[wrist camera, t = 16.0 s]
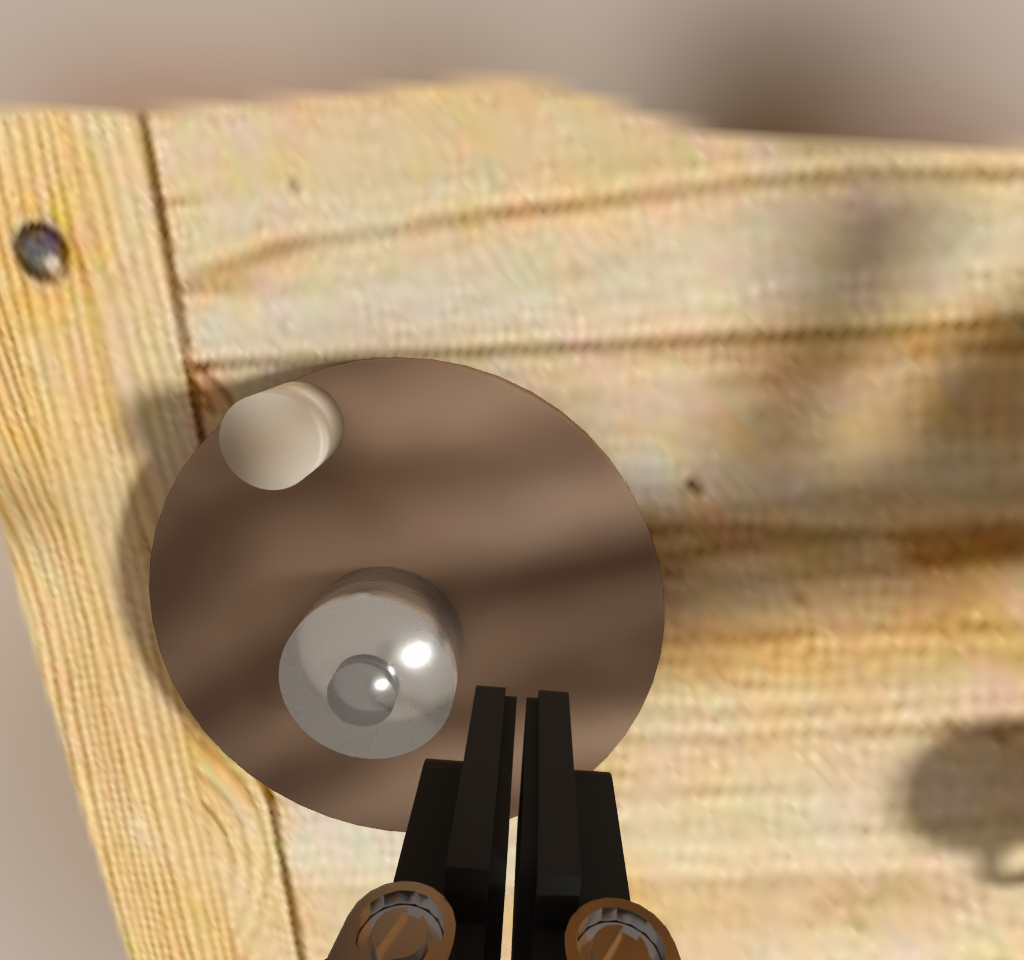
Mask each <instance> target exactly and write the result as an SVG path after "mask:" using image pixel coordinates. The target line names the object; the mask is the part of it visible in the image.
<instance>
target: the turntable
mask: <svg viewBox="0 0 1024 960" xmlns="http://www.w3.org/2000/svg"><path fill="white" fill-rule="evenodd" d="M380 566H383V567H394V568H399V569H403V570H406V571H410V572H413V573H415V574H417V575H419V576H421V577H423V578H425V579H426V580H428V581H430V582H431V583H433V584H434V585H435V586H436V587H438V588H439V589H440V590H441V591H442V592H443V593H444V594H445V595H446V596H447V598H448V599H449V600H450V601H451V603H452V604H453V606H454V608H455V609H456V611H457V613H458V615H459V618H460V620H461V623H462V627H463V632H464V652H463V657H462V662H461V667H460V671H459V676H458V681H457V686H456V691H455V695H454V700H453V705H452V708H451V711H450V714H449V716H448V718H447V720H446V721H445V723H444V725H443V726H442V727H441V729H440V730H439V731H438V732H437V733H436V734H435V735H434V736H433V737H432V738H431V739H430V740H429V741H428V742H426V743H425V744H424V745H422V746H420V747H419V748H417V749H415V750H413V751H411V752H408V753H406V754H403V755H399V756H395V757H390V758H383V759H366V758H358V757H353V756H348V755H345V754H342V753H339V752H336V751H334V750H332V749H329V748H327V747H326V746H324V745H322V744H320V743H319V742H317V741H316V740H315V739H313V738H312V737H310V736H309V735H308V734H307V733H306V732H305V731H304V730H303V729H302V728H301V727H300V726H299V725H298V724H297V722H296V721H295V720H294V719H293V717H292V715H291V714H290V712H289V711H288V709H287V707H286V705H285V703H284V700H283V697H282V694H281V690H280V685H279V664H280V659H281V655H282V652H283V650H284V647H285V645H286V643H287V641H288V640H289V638H290V636H291V635H292V633H293V632H294V631H295V629H296V628H297V626H298V625H299V624H300V622H301V621H302V620H303V618H304V617H305V615H306V614H307V613H308V611H309V610H310V608H311V607H312V606H313V604H314V603H315V601H316V600H317V599H318V597H319V596H320V595H321V593H322V592H323V591H324V590H325V589H326V588H327V587H328V586H329V585H330V584H331V583H332V582H334V581H335V580H337V579H338V578H340V577H341V576H343V575H345V574H347V573H350V572H352V571H355V570H358V569H362V568H368V567H380ZM149 592H150V601H151V611H152V620H153V624H154V628H155V632H156V636H157V640H158V644H159V648H160V652H161V654H162V657H163V659H164V662H165V664H166V667H167V669H168V672H169V674H170V677H171V679H172V681H173V683H174V685H175V687H176V688H177V690H178V692H179V694H180V696H181V697H182V699H183V701H184V703H185V705H186V706H187V708H188V709H189V710H190V712H191V713H192V715H193V716H194V717H195V719H196V720H197V721H198V723H199V724H200V726H201V727H202V728H203V730H204V731H205V732H206V733H207V734H208V735H209V736H210V738H211V739H212V740H213V741H214V742H215V743H216V744H217V745H218V746H219V747H220V748H221V750H222V751H223V752H224V753H225V754H226V755H228V756H229V757H230V758H231V759H232V760H233V761H235V762H236V763H237V764H238V765H239V766H240V767H241V768H243V769H244V770H245V771H246V772H247V773H248V774H250V775H251V776H253V777H254V778H256V779H257V780H259V781H260V782H262V783H263V784H264V785H266V786H267V787H269V788H270V789H272V790H273V791H275V792H277V793H279V794H281V795H282V796H284V797H286V798H288V799H290V800H292V801H293V802H295V803H297V804H299V805H301V806H304V807H306V808H308V809H311V810H313V811H316V812H318V813H321V814H323V815H326V816H328V817H331V818H335V819H338V820H341V821H345V822H348V823H352V824H355V825H359V826H365V827H370V828H376V829H381V830H387V831H399V832H406V831H407V827H408V823H409V819H410V815H411V811H412V807H413V803H414V799H415V795H416V791H417V787H418V783H419V779H420V776H421V772H422V768H423V764H424V761H425V759H426V758H429V759H442V760H455V761H463V760H464V754H465V748H466V743H467V737H468V731H469V725H470V719H471V713H472V707H473V701H474V695H475V689H476V686H477V685H480V686H493V687H506V695H505V696H516V697H517V704H516V721H515V737H514V753H513V770H512V786H511V803H510V818H513V817H515V816H518V810H519V796H520V782H521V768H522V754H523V739H524V725H525V711H526V698H527V697H530V698H538V691H539V690H548V691H561V692H568V693H569V703H570V717H571V731H572V746H573V760H574V770H585V771H593V770H594V769H595V768H596V767H597V766H598V765H599V764H600V763H601V762H602V761H604V760H605V759H606V758H607V756H608V755H609V754H610V753H611V752H612V750H613V749H614V748H615V747H616V746H617V744H618V743H619V742H620V741H621V740H622V738H623V737H624V736H625V735H626V733H627V731H628V730H629V728H630V726H631V725H632V723H633V722H634V720H635V718H636V717H637V715H638V714H639V712H640V710H641V708H642V706H643V704H644V701H645V699H646V697H647V694H648V692H649V690H650V688H651V685H652V683H653V680H654V676H655V672H656V669H657V665H658V661H659V658H660V654H661V647H662V639H663V631H664V590H663V584H662V578H661V572H660V566H659V560H658V557H657V554H656V551H655V548H654V545H653V542H652V539H651V535H650V532H649V529H648V527H647V525H646V523H645V520H644V518H643V516H642V514H641V512H640V510H639V508H638V506H637V504H636V502H635V500H634V497H633V495H632V493H631V491H630V489H629V487H628V485H627V484H626V482H625V481H624V479H623V478H622V476H621V475H620V474H619V472H618V471H617V469H616V468H615V466H614V465H613V463H612V462H611V460H610V459H609V458H608V456H607V455H606V454H605V453H604V452H603V451H602V450H601V449H600V447H599V446H598V445H597V444H596V443H595V442H594V441H593V440H592V438H591V437H590V436H589V435H588V434H587V433H586V432H585V431H584V430H582V429H581V428H580V427H579V426H578V425H577V424H575V423H574V422H573V421H572V420H571V419H570V418H569V417H567V416H566V415H565V414H564V413H563V412H562V411H560V410H559V409H557V408H555V407H554V406H552V405H551V404H549V403H548V402H546V401H545V400H543V399H542V398H540V397H539V396H537V395H536V394H534V393H533V392H531V391H529V390H526V389H524V388H522V387H520V386H518V385H516V384H514V383H512V382H510V381H508V380H506V379H504V378H501V377H499V376H496V375H493V374H490V373H487V372H484V371H481V370H478V369H475V368H472V367H469V366H465V365H459V364H454V363H449V362H444V361H438V360H433V359H418V358H399V357H394V358H382V359H369V360H360V361H355V362H351V363H346V364H341V365H337V366H332V367H328V368H325V369H322V370H319V371H317V372H314V373H311V374H308V375H306V376H303V377H300V378H298V379H295V380H292V381H290V382H287V383H284V384H281V385H278V386H276V387H273V388H270V389H267V390H265V391H262V392H259V393H256V394H253V395H251V396H248V397H245V398H243V399H241V400H239V401H238V402H236V403H235V404H234V405H233V406H232V407H231V408H230V409H229V410H228V411H227V413H226V414H225V416H224V418H223V420H222V423H221V424H220V425H219V426H218V427H217V428H216V429H215V430H214V431H213V432H212V433H211V434H210V435H209V436H208V437H207V438H206V439H205V440H204V441H203V442H202V443H201V444H200V446H199V447H198V448H197V450H196V451H195V452H194V454H193V455H192V457H191V458H190V459H189V461H188V462H187V463H186V465H185V466H184V468H183V469H182V470H181V472H180V474H179V476H178V477H177V479H176V481H175V483H174V485H173V487H172V489H171V491H170V493H169V495H168V497H167V499H166V501H165V504H164V507H163V510H162V513H161V516H160V519H159V522H158V525H157V527H156V531H155V537H154V542H153V548H152V553H151V559H150V585H149Z"/></svg>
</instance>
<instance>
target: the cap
mask: <svg viewBox="0 0 1024 960" xmlns="http://www.w3.org/2000/svg"><path fill="white" fill-rule="evenodd" d="M463 652H464V632H463V627H462V623H461V620H460V618H459V615H458V613H457V611H456V609H455V608H454V606H453V604H452V603H451V601H450V600H449V599H448V598H447V596H446V595H445V594H444V593H443V592H442V591H441V590H440V589H439V588H438V587H436V586H435V585H434V584H433V583H431V582H430V581H428V580H426V579H425V578H423V577H421V576H419V575H417V574H415V573H413V572H410V571H406V570H403V569H399V568H394V567H383V566H380V567H368V568H362V569H358V570H355V571H352V572H350V573H347V574H345V575H343V576H341V577H340V578H338V579H337V580H335V581H334V582H332V583H331V584H330V585H329V586H328V587H327V588H326V589H325V590H324V591H323V592H322V593H321V595H320V596H319V597H318V599H317V600H316V601H315V603H314V604H313V606H312V607H311V608H310V610H309V611H308V613H307V614H306V615H305V617H304V618H303V620H302V621H301V622H300V624H299V625H298V626H297V628H296V629H295V631H294V632H293V633H292V635H291V636H290V638H289V640H288V641H287V643H286V645H285V647H284V650H283V652H282V655H281V659H280V664H279V685H280V690H281V694H282V697H283V700H284V703H285V705H286V707H287V709H288V711H289V712H290V714H291V715H292V717H293V719H294V720H295V721H296V722H297V724H298V725H299V726H300V727H301V728H302V729H303V730H304V731H305V732H306V733H307V734H308V735H309V736H310V737H312V738H313V739H315V740H316V741H317V742H319V743H320V744H322V745H324V746H326V747H327V748H329V749H332V750H334V751H336V752H339V753H342V754H345V755H348V756H353V757H358V758H366V759H383V758H390V757H395V756H399V755H403V754H406V753H408V752H411V751H413V750H415V749H417V748H419V747H420V746H422V745H424V744H425V743H426V742H428V741H429V740H430V739H431V738H432V737H433V736H434V735H435V734H436V733H437V732H438V731H439V730H440V729H441V727H442V726H443V725H444V723H445V721H446V720H447V718H448V716H449V714H450V711H451V708H452V705H453V700H454V695H455V691H456V686H457V681H458V676H459V671H460V667H461V662H462V657H463Z"/></svg>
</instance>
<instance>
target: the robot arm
mask: <svg viewBox="0 0 1024 960" xmlns="http://www.w3.org/2000/svg"><path fill="white" fill-rule="evenodd" d="M505 695H506V687H493V686H480V685H477V686H476V689H475V695H474V701H473V707H472V713H471V719H470V725H469V731H468V737H467V743H466V748H465V754H464V760H463V761H455V760H442V759H429V758H426V759H425V761H424V764H423V768H422V772H421V776H420V779H419V783H418V787H417V791H416V795H415V799H414V803H413V807H412V811H411V815H410V819H409V823H408V827H407V831H406V835H405V839H404V842H403V846H402V850H401V854H400V858H399V862H398V866H397V870H396V874H395V878H394V882H393V883H388V884H385V885H382V886H380V887H378V888H376V889H374V890H372V891H370V892H369V893H368V894H366V895H365V896H364V897H363V898H362V899H360V900H359V901H358V902H357V903H356V905H355V906H354V908H353V909H352V910H351V912H350V913H349V915H348V916H347V918H346V920H345V923H344V925H343V927H342V929H341V931H340V933H339V935H338V937H337V939H336V941H335V943H334V945H333V947H332V949H331V951H330V953H329V955H328V957H327V959H325V960H500V958H501V943H502V928H503V913H504V898H505V883H506V867H507V852H508V835H509V819H510V803H511V786H512V770H513V753H514V737H515V721H516V704H517V697H516V696H505ZM511 960H681V958H680V956H679V953H678V950H677V947H676V945H675V942H674V941H673V939H672V937H671V935H670V933H669V931H668V929H667V928H666V926H665V925H664V924H663V923H662V922H661V921H660V920H659V919H658V918H657V917H656V916H655V915H654V914H653V913H651V912H650V911H648V910H647V909H645V908H644V907H642V906H641V905H639V904H636V903H633V902H631V901H630V895H629V888H628V881H627V875H626V868H625V861H624V855H623V848H622V841H621V834H620V828H619V821H618V814H617V807H616V801H615V794H614V787H613V781H612V776H611V774H610V772H598V771H585V770H574V760H573V746H572V731H571V717H570V703H569V693H568V692H561V691H548V690H539V691H538V698H530V697H527V698H526V711H525V725H524V739H523V754H522V768H521V782H520V796H519V810H518V825H517V843H516V864H515V886H514V908H513V930H512V952H511Z"/></svg>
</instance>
